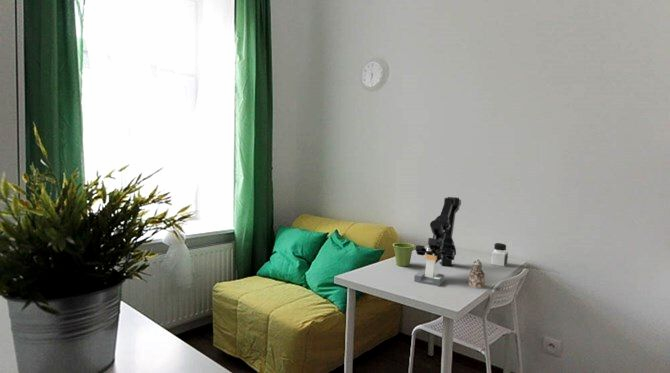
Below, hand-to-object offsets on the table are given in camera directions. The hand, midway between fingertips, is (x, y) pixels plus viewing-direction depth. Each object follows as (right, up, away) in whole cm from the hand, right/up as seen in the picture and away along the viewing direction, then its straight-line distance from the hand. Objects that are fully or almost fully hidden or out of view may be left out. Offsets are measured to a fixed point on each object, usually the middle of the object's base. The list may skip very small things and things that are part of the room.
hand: (431, 267), depth 182 cm
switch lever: (-1, -3, -2) cm, 4 cm away
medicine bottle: (+47, -5, +31) cm, 56 cm away
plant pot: (-9, -4, +26) cm, 27 cm away
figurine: (+20, -7, -6) cm, 22 cm away
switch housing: (-1, -6, -1) cm, 7 cm away
